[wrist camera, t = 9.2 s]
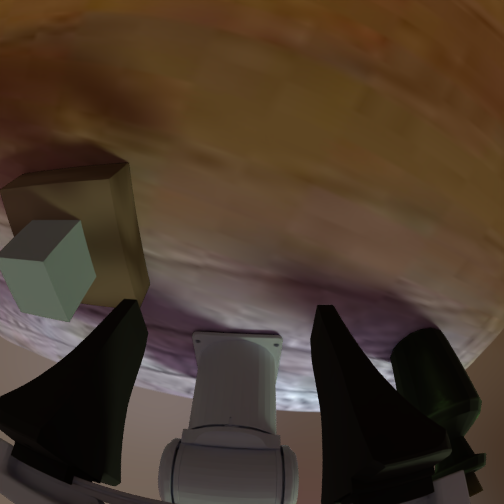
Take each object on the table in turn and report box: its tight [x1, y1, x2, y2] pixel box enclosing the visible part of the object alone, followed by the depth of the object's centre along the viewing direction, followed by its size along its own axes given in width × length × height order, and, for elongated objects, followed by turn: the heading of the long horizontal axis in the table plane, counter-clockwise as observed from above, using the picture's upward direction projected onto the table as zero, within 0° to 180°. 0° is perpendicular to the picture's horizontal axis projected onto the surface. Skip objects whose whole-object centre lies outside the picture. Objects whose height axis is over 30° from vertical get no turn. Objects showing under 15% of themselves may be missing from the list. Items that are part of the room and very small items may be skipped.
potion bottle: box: [390, 328, 486, 497], centre depth 20 cm, size 8×8×18 cm
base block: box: [0, 163, 150, 308], centre depth 19 cm, size 10×10×3 cm
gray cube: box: [0, 220, 96, 322], centre depth 16 cm, size 4×4×4 cm
